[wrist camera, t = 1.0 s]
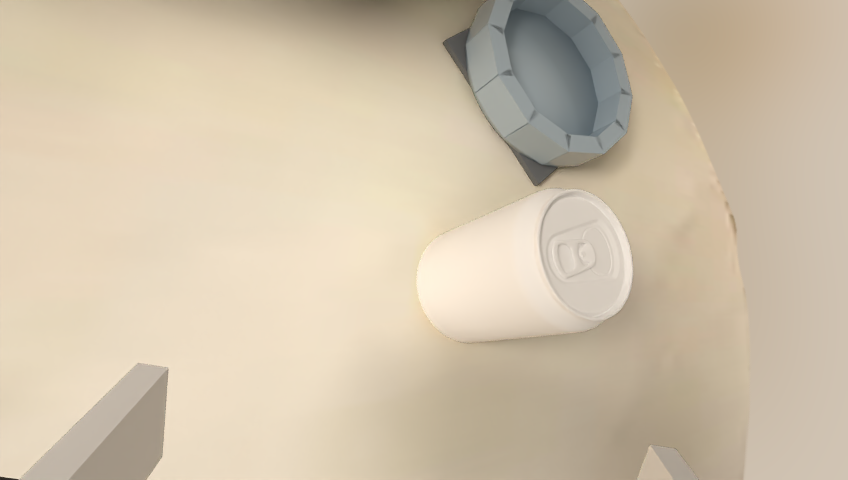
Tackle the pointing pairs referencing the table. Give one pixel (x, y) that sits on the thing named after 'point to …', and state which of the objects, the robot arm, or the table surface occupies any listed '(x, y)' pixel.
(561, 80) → the bowl
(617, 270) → the beverage can
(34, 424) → the table surface
